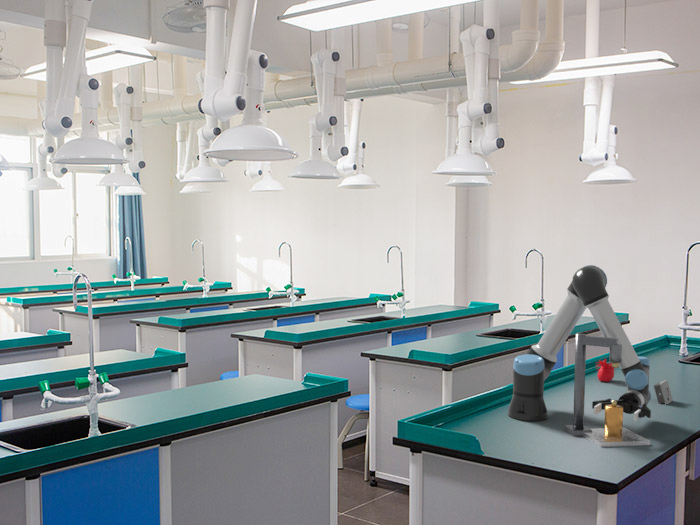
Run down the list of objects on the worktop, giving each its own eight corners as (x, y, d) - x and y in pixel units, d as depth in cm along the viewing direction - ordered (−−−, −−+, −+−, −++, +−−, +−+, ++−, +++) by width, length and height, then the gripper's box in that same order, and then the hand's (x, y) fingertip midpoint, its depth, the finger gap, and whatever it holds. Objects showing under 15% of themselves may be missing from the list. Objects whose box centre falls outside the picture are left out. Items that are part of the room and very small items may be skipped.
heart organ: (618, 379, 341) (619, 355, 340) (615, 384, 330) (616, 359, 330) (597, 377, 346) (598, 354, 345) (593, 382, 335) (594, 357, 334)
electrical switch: (667, 405, 292) (665, 383, 292) (654, 404, 295) (652, 382, 295) (673, 401, 299) (671, 379, 299) (660, 400, 302) (659, 379, 302)
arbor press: (591, 447, 233) (594, 341, 231) (564, 430, 252) (567, 332, 251) (649, 445, 236) (653, 340, 235) (619, 428, 256) (622, 332, 254)
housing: (602, 435, 242) (603, 401, 241) (605, 431, 247) (606, 398, 246) (620, 438, 239) (621, 404, 238) (623, 434, 244) (624, 400, 243)
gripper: (666, 417, 252) (651, 430, 235) (597, 406, 267) (578, 418, 250) (667, 397, 251) (652, 409, 235) (597, 387, 266) (579, 397, 249)
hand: (614, 413), depth 242 cm, fingers open, 13 cm apart
